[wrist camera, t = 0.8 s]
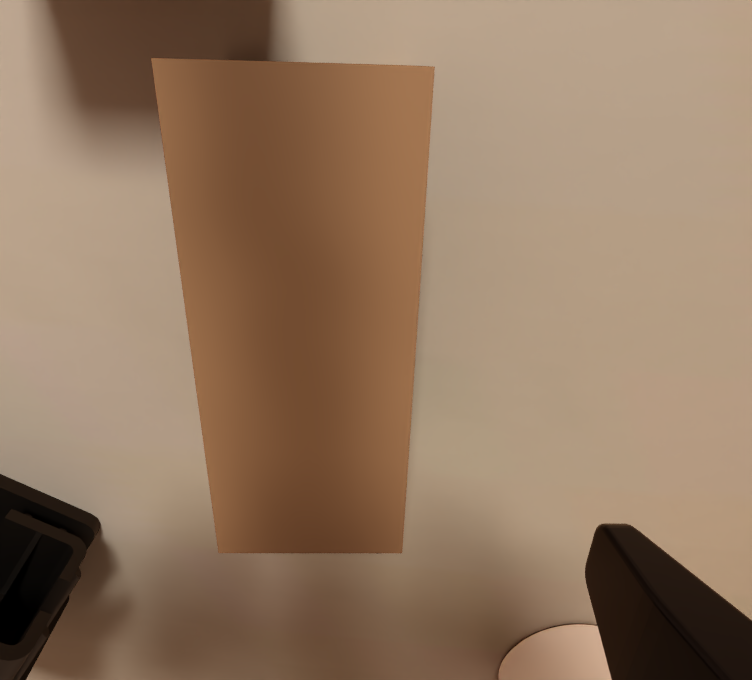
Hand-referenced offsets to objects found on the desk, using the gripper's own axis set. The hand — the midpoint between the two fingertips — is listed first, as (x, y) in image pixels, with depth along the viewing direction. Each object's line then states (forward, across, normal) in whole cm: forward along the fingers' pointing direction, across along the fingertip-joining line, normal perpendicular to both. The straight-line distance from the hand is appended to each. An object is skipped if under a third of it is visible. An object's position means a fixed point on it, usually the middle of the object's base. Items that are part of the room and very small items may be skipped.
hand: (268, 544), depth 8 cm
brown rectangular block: (+12, 0, 0) cm, 12 cm away
